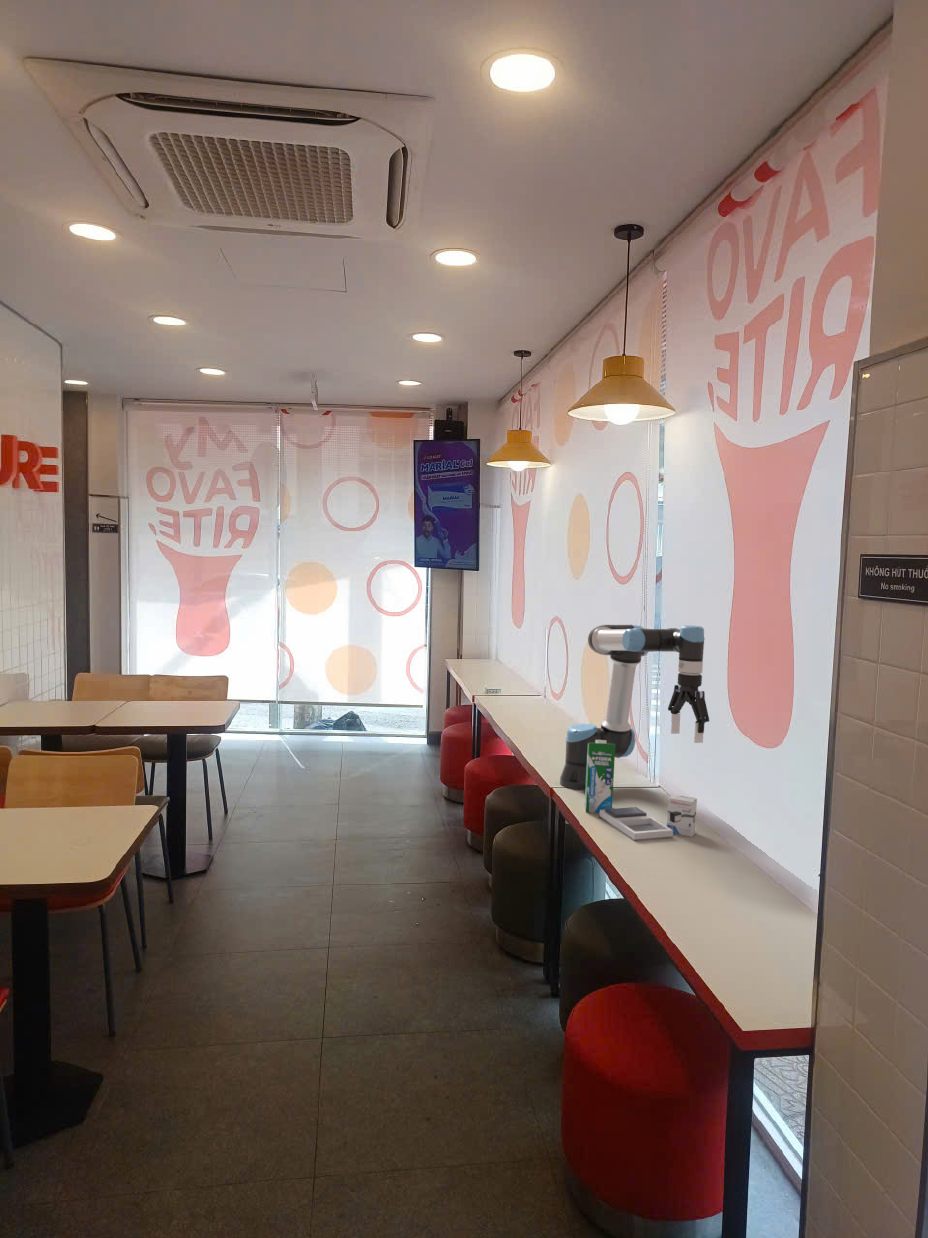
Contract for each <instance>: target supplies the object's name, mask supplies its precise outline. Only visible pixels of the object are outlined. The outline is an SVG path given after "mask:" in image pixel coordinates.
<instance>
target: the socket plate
mask: <svg viewBox="0 0 928 1238" xmlns="http://www.w3.org/2000/svg"><path fill="white" fill-rule="evenodd" d="M599 818H601V819H602V820H603V821H604V822H606V823H607V824H609V825H611V827H613V828H615V829H616V830H618V831H619V832H621V834H623V835H624V836H625V837H628V838H629V839H630V840H632V841H633V842H638V841H649V840H664V839H673V837H674V836H673V835H674V833H673V830H672V829H670V828H669V827H667V825H665V824H664V823H663V822H661V821H659V820H657V819H655V818H654V817H652V816H650V815H649V814H647V815H646V816H636V817H623V818H614V817H612V816H611V815H609V814H608V813H607V812H605V810H600V813H599Z"/></svg>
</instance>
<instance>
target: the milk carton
mask: <svg viewBox="0 0 928 1238" xmlns="http://www.w3.org/2000/svg"><path fill="white" fill-rule="evenodd" d="M615 759H616V758H615V744H606V740H595V743H588V746H587V767H586V788H585V789H584V791H585V792H584V809H585V813H594V814H600V810H605V809H613V795H614V779H615V778H614V777H615V776H614V775H615V774H614V773H615V761H616V760H615Z"/></svg>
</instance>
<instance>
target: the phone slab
mask: <svg viewBox="0 0 928 1238" xmlns="http://www.w3.org/2000/svg"><path fill="white" fill-rule="evenodd" d="M605 812H607V813H608V814H609V815H611V816H612V817H614V818H623V817H636V816H646V815H648V813H647V812H645V811H644V810H643V809H641V808H639V807H637V806H633V807H621V808H620V807H619V808H618V807H617V808H612V809H605Z"/></svg>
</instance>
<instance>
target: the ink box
mask: <svg viewBox="0 0 928 1238" xmlns="http://www.w3.org/2000/svg"><path fill="white" fill-rule="evenodd" d="M697 803H698V798H696V797H693V796H692V797H691V796H687V795H680V794H675V793H674V794H671V795H670V796H669V797H668V800H667V816H666V826H667V827H669V828H670V829H672V830H673V834H675V835H681V836H686V837H693V836H694V834H695V833H696V824H697V823H696V822H697V821H696V820H697Z"/></svg>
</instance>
